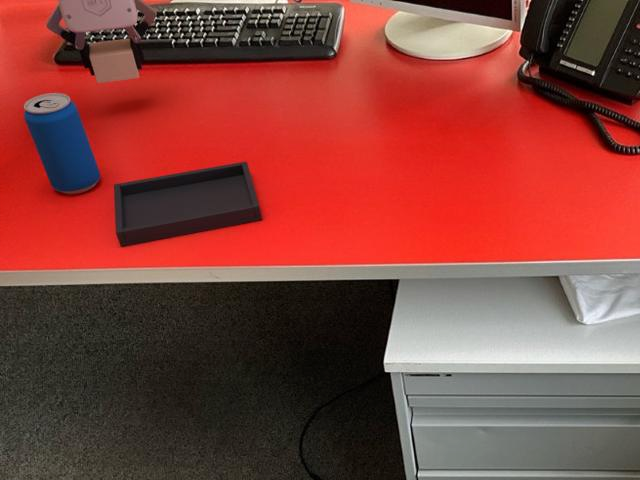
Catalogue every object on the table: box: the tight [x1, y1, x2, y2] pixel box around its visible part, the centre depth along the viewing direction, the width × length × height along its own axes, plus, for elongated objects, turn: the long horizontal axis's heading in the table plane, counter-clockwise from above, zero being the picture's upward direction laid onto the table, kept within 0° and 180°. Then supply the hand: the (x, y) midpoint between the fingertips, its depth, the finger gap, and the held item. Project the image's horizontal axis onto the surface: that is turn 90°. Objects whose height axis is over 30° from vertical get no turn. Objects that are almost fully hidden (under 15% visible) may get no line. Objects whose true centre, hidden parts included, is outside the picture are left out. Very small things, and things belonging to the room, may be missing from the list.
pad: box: [89, 38, 140, 84], centre depth 136 cm, size 6×6×4 cm
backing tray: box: [113, 161, 263, 247], centre depth 117 cm, size 18×13×2 cm
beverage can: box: [23, 92, 102, 195], centre depth 119 cm, size 6×6×12 cm
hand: (116, 68), depth 137 cm, fingers closed on pad, 6 cm apart
